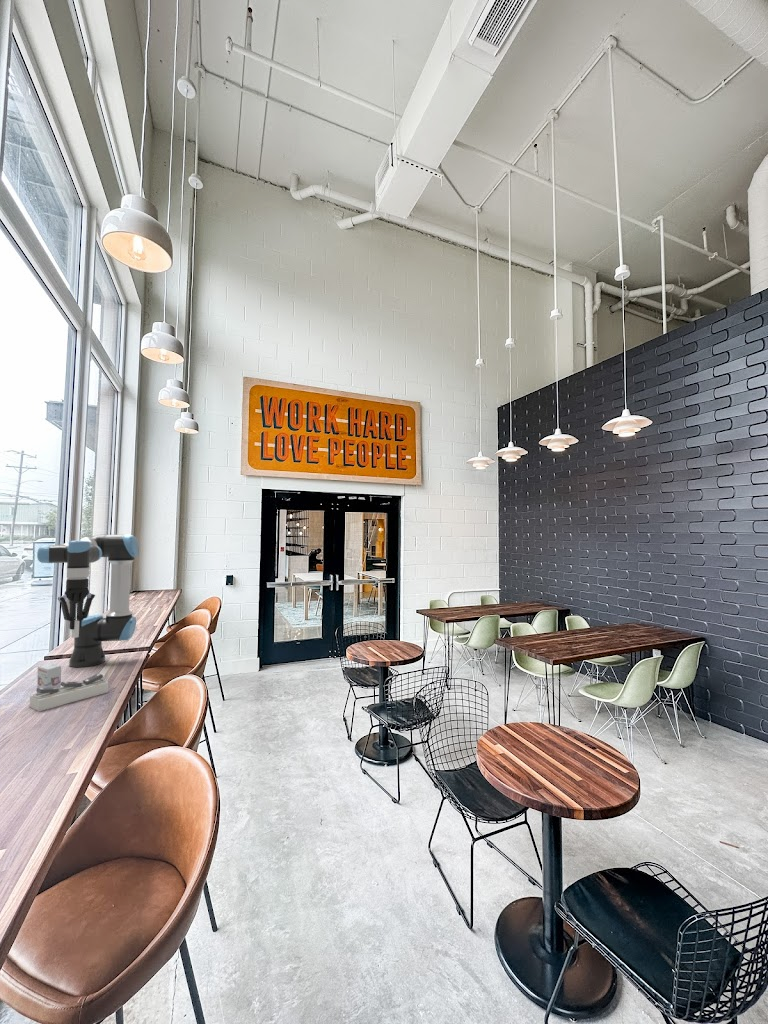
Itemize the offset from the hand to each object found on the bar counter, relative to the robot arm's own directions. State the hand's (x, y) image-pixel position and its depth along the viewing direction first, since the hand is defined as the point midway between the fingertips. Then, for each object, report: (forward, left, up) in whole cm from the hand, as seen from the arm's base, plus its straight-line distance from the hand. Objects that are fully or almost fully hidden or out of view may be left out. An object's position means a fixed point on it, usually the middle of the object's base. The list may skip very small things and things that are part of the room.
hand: (75, 637), depth 180 cm
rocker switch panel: (+2, +3, -23) cm, 24 cm away
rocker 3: (-6, +3, -18) cm, 19 cm away
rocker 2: (+2, +3, -18) cm, 18 cm away
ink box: (+5, -9, -24) cm, 26 cm away
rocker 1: (+10, +3, -18) cm, 21 cm away
